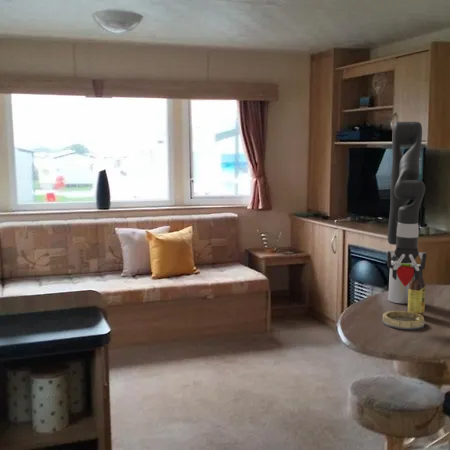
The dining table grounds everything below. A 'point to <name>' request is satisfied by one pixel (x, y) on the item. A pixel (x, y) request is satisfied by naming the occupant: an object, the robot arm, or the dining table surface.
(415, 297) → the sauce bottle
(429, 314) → the dining table surface
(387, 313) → the tan rimmed round bowl
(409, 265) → the strawberry
